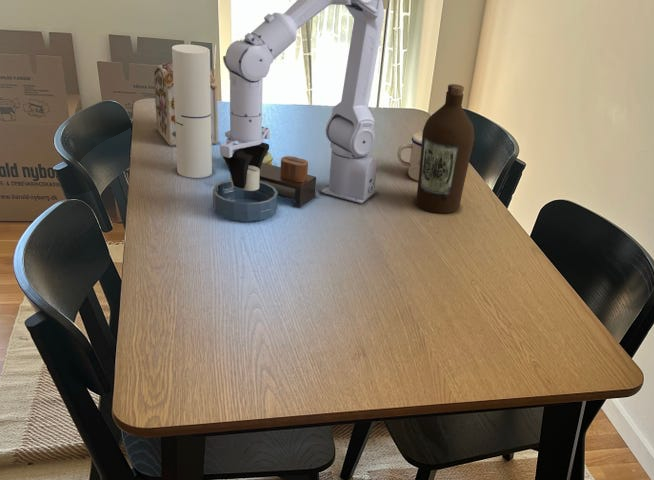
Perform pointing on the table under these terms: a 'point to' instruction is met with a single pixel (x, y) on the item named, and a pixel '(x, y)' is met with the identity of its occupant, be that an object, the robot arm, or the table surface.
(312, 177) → the rack
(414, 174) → the teacup with lid
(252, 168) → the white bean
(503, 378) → the table surface
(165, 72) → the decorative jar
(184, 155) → the cylindrical container
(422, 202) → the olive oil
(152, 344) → the table surface
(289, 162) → the brown rounded block
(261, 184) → the bowl
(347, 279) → the table surface
